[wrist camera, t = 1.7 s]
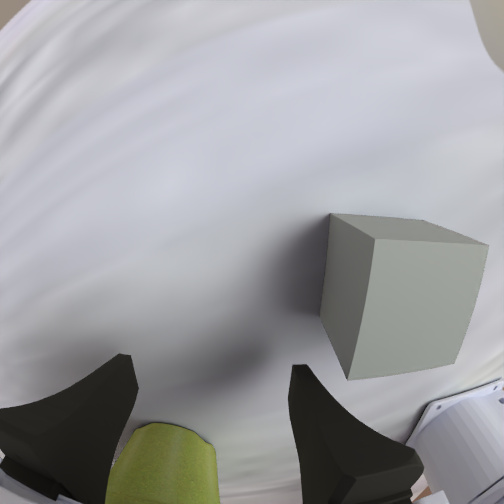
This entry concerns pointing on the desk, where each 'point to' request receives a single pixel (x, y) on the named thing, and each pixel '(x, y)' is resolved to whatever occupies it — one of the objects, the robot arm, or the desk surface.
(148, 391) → the desk surface
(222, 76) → the desk surface
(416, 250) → the slate block
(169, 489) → the plant pot
